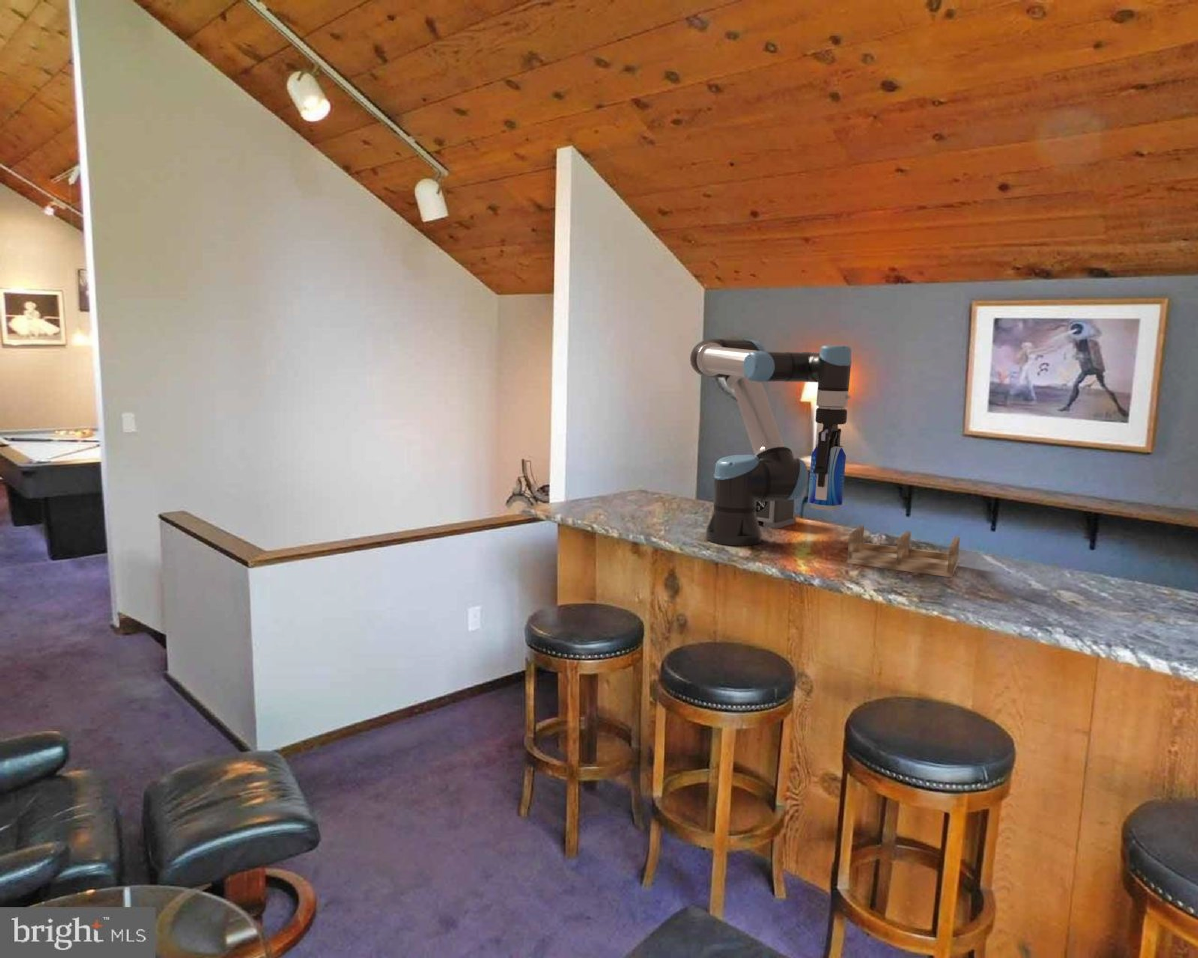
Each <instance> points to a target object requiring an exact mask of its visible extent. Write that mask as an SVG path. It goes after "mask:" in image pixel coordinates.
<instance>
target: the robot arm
mask: <svg viewBox="0 0 1198 958" xmlns="http://www.w3.org/2000/svg"><path fill="white" fill-rule="evenodd" d="M689 356H690V357H689V358H690V359H689V361H690V365H691V368H692V369H693V371H694V372H696V373H697V374H699V375H700V376H703V377H707V378H715V379H717V378H719V379H722V378H723V379H724V381H725V384H726V387H727V388H728V389H729V390H733V391H734V392H733V393H734V395H735V398H736V401H737V404H738V407H739V411H740V413H741V418H742V420H743V423H744V426H745V428H746V432H747V435H748V439H749V442H750V444H751V447H752V451H753V454H734V455H728V456H724V457H721V458H720V459H718V460H717V461H716V463H715V468H714V474H713V479H714V484H713V487H714V488H713V508H712V509H713V510H712V511H713V512H712V514H711V517H710V519H709V522H708V525H707V528H706V530H705V531H706V532H705V539H706V540H707V541H708V542H712V543H714V544H718V545H725V546H751V545H756V544H757V545H758V544H759V543H761V541H762V532H761V527H760V525H759V521H758V520H757V516H756V502H761V501H787V500H794V501H795V500H796V499H798V498H800V497H802V495H803V494H804V492H805V490H806V489H807V484H808V482H809V481H808V479H809V471H808V466H807V464H806V462H805V461H804V460H803V459H801V458H799V457H796V458H795V457H794V454H793V452H792V449H791V447H788V446H786V445H784V442H783V439H782V437H781V434H780V430H779V428H778V425H777V422H776V419H775V416H774V414H773V411H772V407H771V405H770V401H769V399H768V396H767V393H766V390H765V388H764V385H763V382H764V383H765V382H768V383H769V382H783V383H784V382H787V383H789V382H791V383H792V382H793V383H799V382H801V383H817V392H816V406H817V408H816V410H815V420H814V421H815V422H816V423H817V424H822V425H823V426H822V430H820V431H819V432H818V433H817V435H818V436H817V437H818V439H817V440H818V441H817V444H818V448H817V456H816V465H815V470H814V471H813V472H814V473H817V479H816V493H815V499H819V500H827V489H828V475H829V474H827V473H828V466H829V456H830V451H831V448H833V447H834V446H837V447H838V445H840V446H841V433H842V428H839V425H841V426H842V425H845V424H846V423H847V419H848V418H847V417H848V410H847V407H848V403H849V401H848V400H850V399H851V395H850V394H849V389H850V379H851V368H852V349H851V347H850V346H848V345H834V344H833V345H825V344H823V345H822V346H821V347H820V351H819V352H811V351H810V352H809V351H807V352H804V351H803V352H801V351H800V352H793V351H792V352H791V351H790V352H789V351H788V352H786V351H785V352H781V351H766V350H765V348H764V346H763V345H762V344H761V342H759V341H757V340H752V339H747V338H742V339H731V338H730V339H728V338H708V339H704V340H702V341H699V342H698V343H697V344H696V345H695V346H694V347H693V348H692V350H691V352H690V355H689ZM821 467H823V468H821Z"/></svg>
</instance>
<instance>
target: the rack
mask: <svg viewBox="0 0 1198 958" xmlns="http://www.w3.org/2000/svg"><path fill="white" fill-rule="evenodd" d="M864 531H865V526H864V525H859V526H858V527H857V528H855V529H854V530H853V531H852V532H851V533H850V534H848V545H847V546H848V548H847V560H846V561H847V562H846V564H852V565H858V566H860V565H861V566H865V567H866V566H867V567H874V568H881V569H889V570H896V571H901V572H903V571H904V572H911V573H917V574H926V575H932V576H941V577H947V578H952V577H953V575H954V573H955V571H956V570H957V567H958V561H959V549H960V540H961V537H960V536H955V537H954V538H953V540H952V541H951V544H950V545H949V549H948V550H949V551H948V552H940V551H934V550H924V549H917V548H910V546H911V545H910V544H911V531H908V530H906V531H905V532H904V533H903V534H902V535H901V536H900V537H899V539H898V540H897V546H893V545H885V544H877V543H868V542H864V534H865V533H864Z"/></svg>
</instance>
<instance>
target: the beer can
mask: <svg viewBox="0 0 1198 958" xmlns="http://www.w3.org/2000/svg"><path fill="white" fill-rule="evenodd" d="M817 448H818V443H817V444H815V448H814V449H813V451H812V452H811V455H810V467H809V469H810V471H809V481H808V482H809V485H808V499H807V502H808V504H809V505H810V508H812V509H814V510H821V511H837V510H840V507H841V506H842V505H843V501H844V500H843V497H844V485H845V474H846V471H845V470H846V462H847V461H846V460H847V458H846V457H847V455H846V452H845V451H844V449H843V448H844V446H843V445H841V444H840V445H838V447H837V446H834V447H833V448H831V451H830V456H829V466H828V473H827V474H829V475H828V489H827V500H819V499H815V493H816V479H817V473H814V472H813V471H814V470H815V465H816V456H817ZM821 468H823V467H821Z"/></svg>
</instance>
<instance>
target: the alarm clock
mask: <svg viewBox="0 0 1198 958" xmlns="http://www.w3.org/2000/svg"><path fill="white" fill-rule="evenodd" d="M794 506H795V499H794V500H787V501H761V502H756V516H757V520H758V522H759V521H760V522H763V524H762V526H763V527H764V528H770V529H779V528H783V527H786V526H790V525H793V524H796V521H797V518H796V516H794V510H795V509H794V508H795V507H794Z"/></svg>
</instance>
